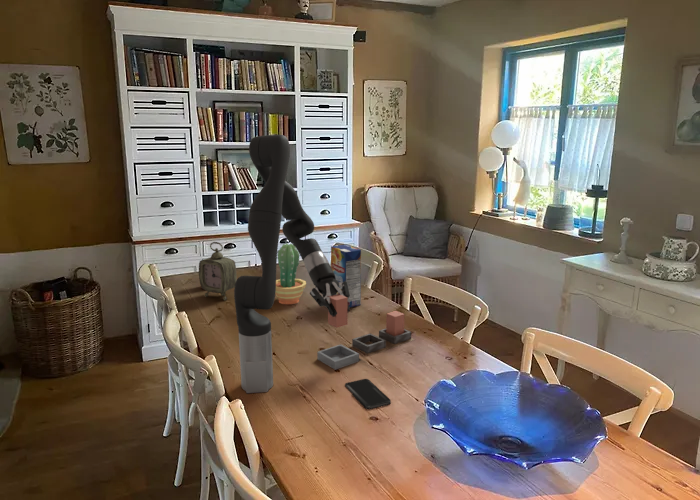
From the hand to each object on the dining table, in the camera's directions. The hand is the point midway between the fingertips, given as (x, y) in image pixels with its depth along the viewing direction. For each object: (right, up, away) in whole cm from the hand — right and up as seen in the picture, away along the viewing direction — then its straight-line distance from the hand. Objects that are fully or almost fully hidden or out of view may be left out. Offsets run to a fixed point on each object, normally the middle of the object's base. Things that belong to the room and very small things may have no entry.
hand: (341, 313), depth 167 cm
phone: (+8, -22, -15) cm, 28 cm away
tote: (-1, -16, +5) cm, 17 cm away
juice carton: (+1, -3, +61) cm, 61 cm away
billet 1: (-1, -4, +2) cm, 4 cm away
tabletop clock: (-55, -1, +69) cm, 88 cm away
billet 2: (+19, -11, +20) cm, 29 cm away
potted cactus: (-24, -2, +64) cm, 68 cm away
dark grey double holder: (+14, -13, +17) cm, 26 cm away
